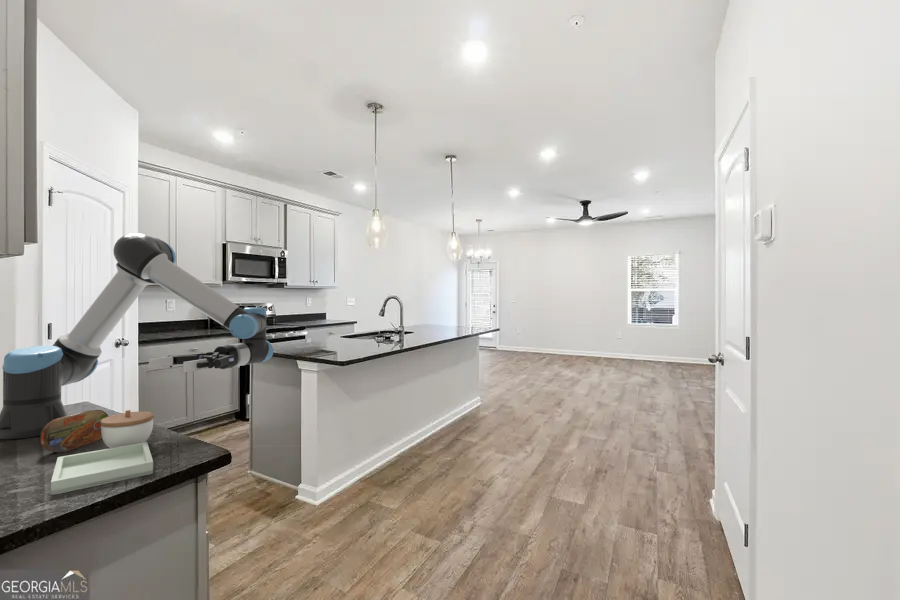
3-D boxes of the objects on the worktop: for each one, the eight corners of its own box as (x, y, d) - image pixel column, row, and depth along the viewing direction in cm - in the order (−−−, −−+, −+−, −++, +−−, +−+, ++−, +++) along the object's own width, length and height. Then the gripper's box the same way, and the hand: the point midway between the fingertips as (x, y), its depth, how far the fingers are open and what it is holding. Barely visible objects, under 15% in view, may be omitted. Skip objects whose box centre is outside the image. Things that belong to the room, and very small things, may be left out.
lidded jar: (151, 450, 104) (152, 412, 104) (96, 458, 98) (96, 418, 98) (154, 437, 113) (155, 403, 113) (104, 444, 107) (104, 408, 107)
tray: (57, 468, 91) (57, 457, 91) (146, 452, 102) (147, 441, 102) (50, 495, 79) (50, 481, 79) (153, 473, 90) (153, 461, 90)
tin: (47, 457, 98) (47, 422, 98) (36, 456, 99) (37, 421, 99) (110, 437, 113) (111, 406, 113) (101, 436, 113) (102, 405, 113)
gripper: (260, 369, 130) (199, 382, 110) (202, 365, 139) (135, 376, 119) (261, 346, 130) (199, 354, 110) (202, 342, 139) (136, 349, 119)
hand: (166, 365), depth 114 cm, fingers open, 13 cm apart
